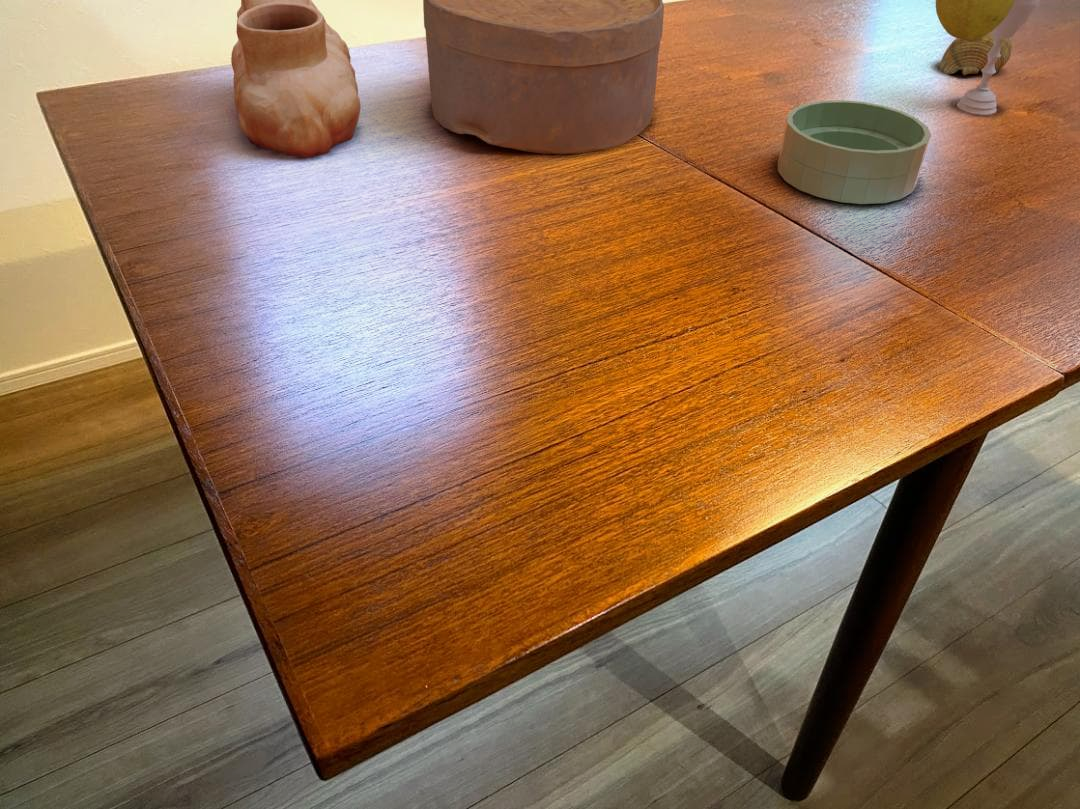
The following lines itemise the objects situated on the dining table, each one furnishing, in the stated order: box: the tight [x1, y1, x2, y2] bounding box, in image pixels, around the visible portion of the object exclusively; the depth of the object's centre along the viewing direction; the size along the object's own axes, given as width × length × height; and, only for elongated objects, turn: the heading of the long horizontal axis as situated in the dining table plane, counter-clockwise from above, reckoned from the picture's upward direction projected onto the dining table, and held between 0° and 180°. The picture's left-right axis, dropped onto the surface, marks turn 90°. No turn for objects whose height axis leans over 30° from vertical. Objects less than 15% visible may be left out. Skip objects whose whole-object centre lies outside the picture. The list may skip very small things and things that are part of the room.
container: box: [422, 0, 665, 155], centre depth 103 cm, size 28×28×15 cm
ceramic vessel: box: [230, 0, 361, 158], centre depth 101 cm, size 14×26×15 cm, turn 18°
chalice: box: [956, 0, 1041, 116], centre depth 105 cm, size 7×7×18 cm
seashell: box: [938, 34, 1013, 76], centre depth 121 cm, size 10×7×8 cm
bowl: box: [777, 99, 932, 205], centre depth 93 cm, size 14×14×6 cm
